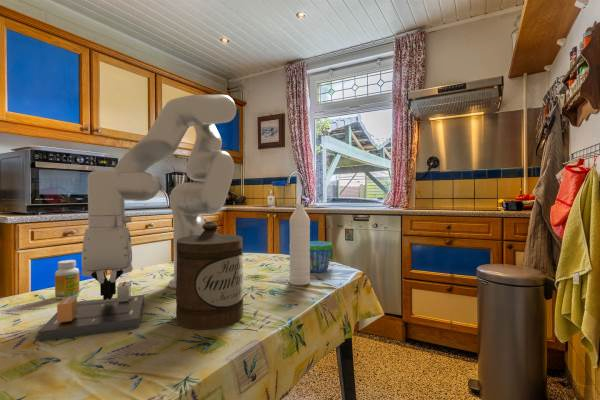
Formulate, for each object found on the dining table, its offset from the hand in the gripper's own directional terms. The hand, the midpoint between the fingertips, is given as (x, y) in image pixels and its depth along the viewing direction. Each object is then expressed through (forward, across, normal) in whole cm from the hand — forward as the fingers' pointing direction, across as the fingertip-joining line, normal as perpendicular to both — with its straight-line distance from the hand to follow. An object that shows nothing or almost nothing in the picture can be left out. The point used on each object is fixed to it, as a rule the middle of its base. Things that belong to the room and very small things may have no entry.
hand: (108, 297), depth 78 cm
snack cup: (+4, -64, -17) cm, 66 cm away
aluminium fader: (+1, -3, 0) cm, 3 cm away
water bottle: (+3, -53, -4) cm, 53 cm away
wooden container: (+3, -23, +13) cm, 26 cm away
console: (+3, +1, +6) cm, 6 cm away
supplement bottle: (+3, +12, -16) cm, 20 cm away
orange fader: (+1, +6, +10) cm, 11 cm away
